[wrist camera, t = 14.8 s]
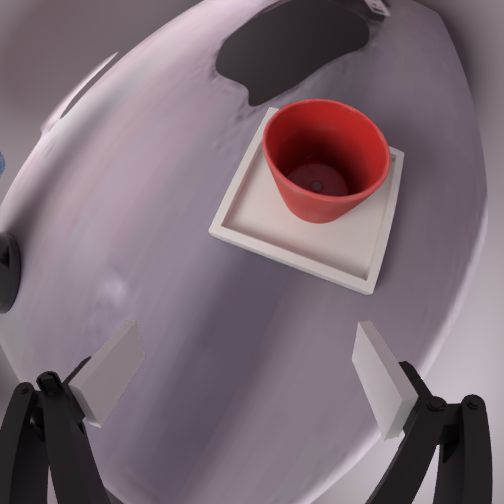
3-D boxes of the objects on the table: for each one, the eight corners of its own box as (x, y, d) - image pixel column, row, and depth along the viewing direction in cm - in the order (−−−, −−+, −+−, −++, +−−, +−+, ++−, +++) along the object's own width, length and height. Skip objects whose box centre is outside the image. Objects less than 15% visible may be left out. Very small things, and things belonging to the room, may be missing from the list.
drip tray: (213, 237, 30) (208, 231, 28) (270, 117, 33) (269, 107, 31) (366, 295, 27) (372, 293, 25) (398, 161, 30) (404, 152, 28)
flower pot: (308, 137, 31) (314, 81, 22) (379, 192, 29) (410, 147, 19) (248, 192, 30) (234, 143, 21) (323, 258, 28) (343, 230, 18)
